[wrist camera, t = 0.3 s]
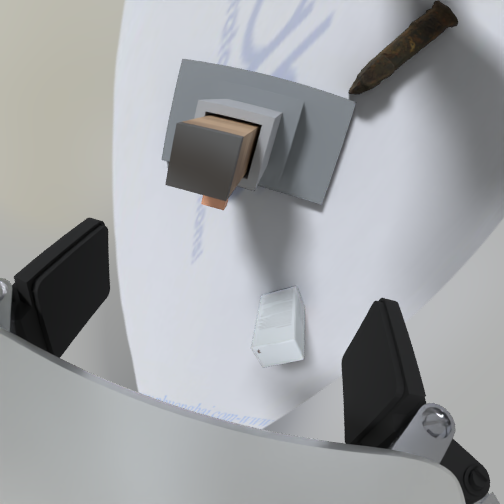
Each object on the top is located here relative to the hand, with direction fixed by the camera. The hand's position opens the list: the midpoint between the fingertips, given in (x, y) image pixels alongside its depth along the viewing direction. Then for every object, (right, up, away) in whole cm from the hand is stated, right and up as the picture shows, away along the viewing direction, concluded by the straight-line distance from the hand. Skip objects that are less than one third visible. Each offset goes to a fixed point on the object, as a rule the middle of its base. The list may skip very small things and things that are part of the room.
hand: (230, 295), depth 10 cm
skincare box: (+6, -6, +40) cm, 40 cm away
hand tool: (+20, +26, +20) cm, 39 cm away
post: (0, +14, +23) cm, 27 cm away
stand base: (+1, +17, +28) cm, 33 cm away
